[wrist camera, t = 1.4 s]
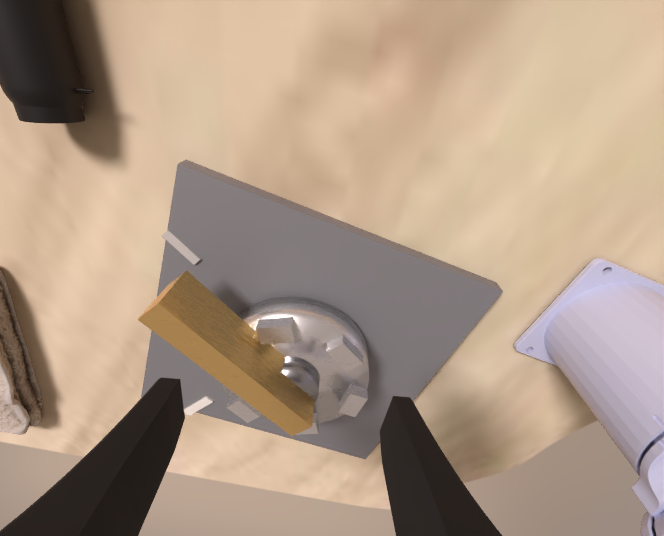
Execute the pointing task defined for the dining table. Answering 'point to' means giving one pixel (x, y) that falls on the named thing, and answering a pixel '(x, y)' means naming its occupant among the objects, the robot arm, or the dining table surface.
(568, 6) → the dining table surface
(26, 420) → the washcloth
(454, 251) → the dining table surface
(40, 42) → the door handle
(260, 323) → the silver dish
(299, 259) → the nut board
